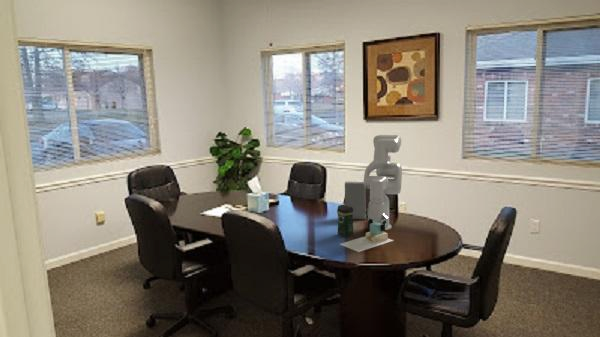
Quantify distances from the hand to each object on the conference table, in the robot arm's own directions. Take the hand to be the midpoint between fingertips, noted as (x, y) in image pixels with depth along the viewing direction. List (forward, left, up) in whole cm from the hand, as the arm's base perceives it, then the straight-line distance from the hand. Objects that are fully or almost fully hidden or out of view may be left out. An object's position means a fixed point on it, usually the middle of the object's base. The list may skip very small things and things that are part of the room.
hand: (376, 228), depth 263 cm
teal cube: (0, 0, -2) cm, 2 cm away
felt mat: (0, -8, -7) cm, 10 cm away
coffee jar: (-18, -8, -7) cm, 21 cm away
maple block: (0, 0, -6) cm, 6 cm away
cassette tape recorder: (-40, +22, -7) cm, 46 cm away
